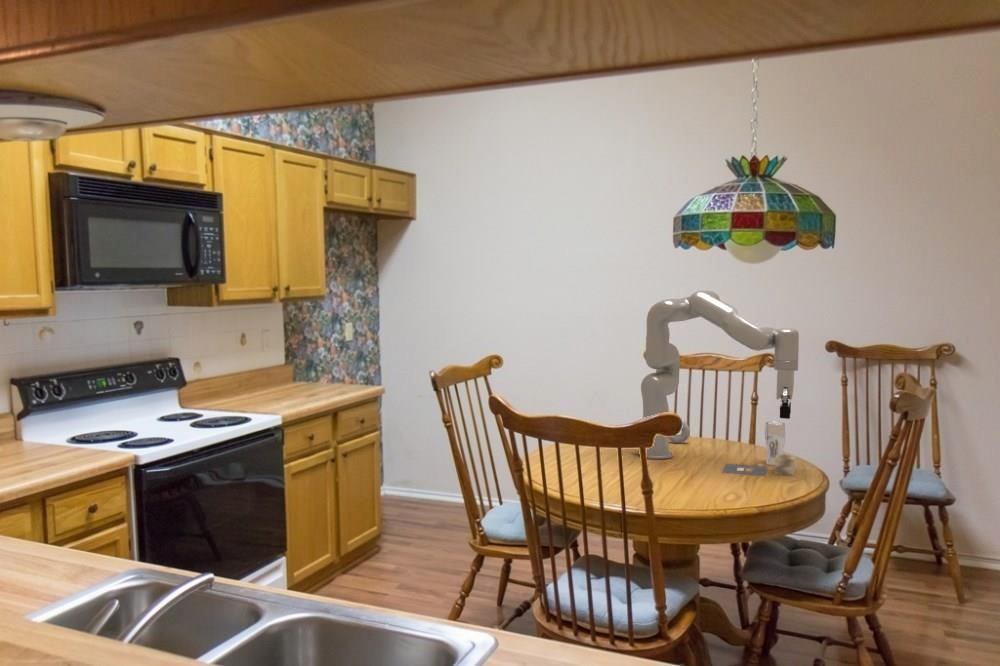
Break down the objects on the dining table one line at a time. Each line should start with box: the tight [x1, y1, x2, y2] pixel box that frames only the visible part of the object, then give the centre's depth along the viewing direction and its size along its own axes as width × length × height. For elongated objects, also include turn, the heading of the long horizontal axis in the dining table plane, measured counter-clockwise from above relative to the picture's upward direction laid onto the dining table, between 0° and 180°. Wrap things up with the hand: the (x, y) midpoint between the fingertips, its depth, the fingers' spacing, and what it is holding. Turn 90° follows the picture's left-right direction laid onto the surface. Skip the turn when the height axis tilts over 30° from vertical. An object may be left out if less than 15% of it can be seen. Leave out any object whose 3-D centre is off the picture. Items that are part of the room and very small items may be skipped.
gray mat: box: [721, 463, 768, 477], centre depth 259 cm, size 14×14×1 cm
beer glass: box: [764, 421, 787, 466], centre depth 267 cm, size 7×7×15 cm
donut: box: [669, 420, 691, 444], centre depth 305 cm, size 10×3×10 cm, turn 68°
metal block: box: [774, 454, 796, 476], centre depth 254 cm, size 6×6×6 cm
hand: (785, 415), depth 253 cm, fingers open, 9 cm apart
